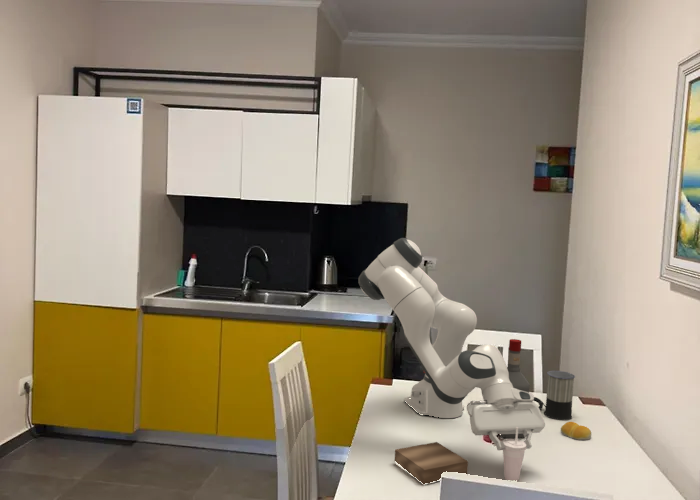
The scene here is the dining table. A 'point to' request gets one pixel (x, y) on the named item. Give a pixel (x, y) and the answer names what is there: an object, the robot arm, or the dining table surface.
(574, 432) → the bread roll
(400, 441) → the dining table surface
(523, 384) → the liquor
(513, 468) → the smoothie
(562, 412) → the milk frother
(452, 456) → the plinth
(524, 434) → the robot arm
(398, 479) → the dining table surface
